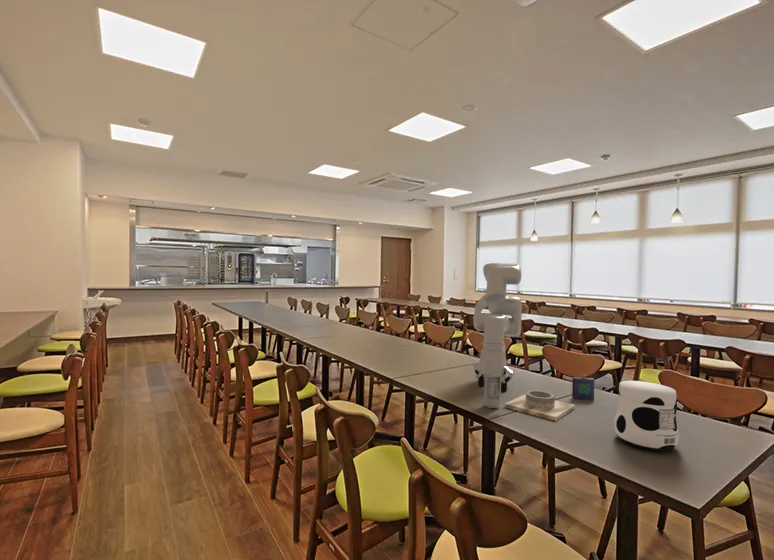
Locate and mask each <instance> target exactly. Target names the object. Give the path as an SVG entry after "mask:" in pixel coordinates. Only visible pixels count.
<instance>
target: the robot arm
mask: <svg viewBox="0 0 774 560" xmlns="http://www.w3.org/2000/svg"><path fill="white" fill-rule="evenodd" d="M482 271H483V276H484V278H485V281H486V293H484V295H482V296H481V297H480V298H479V299H478V301H477V302H476V304H475V307H474V313H473V327H474V330H475V329H476V331H479V332H484V334H483V342H482V341H481V343H480V346H483V348H482V349H481V351H480V355H479V360H478V362H479V363H475V364H473V365H472V367H473V370H474V373H475V375H476V376H477V379H478V380H477V381H478V388H480V389H481V388H483V387H484V388H485V375H487V374H491V376H493V377H497V378H499V377H500V394H504V393H506V392H507V390H508V382H510V381H511V380H512V379H513V376H514V375H515V373H514V372H513V370H511V369H510V368H509V367H507V356H506V343H505V342H504V338H505V337H508V338H509V337H510V338H518V337H519V336H520V335H521V332H522V314H523V313H522V310H523V309H522V308H523V307H522V300H521V299H520V298H519V297H517V296H511V295H510V296H509V295H507V285H514V286H515V285H516V286H517V285H519V284H520V282H521V280H522V268H521V265H520V264H519V263H510V262H509V263H503V262H491V263H490V262H489V263H485V264H484V265H483V268H482ZM487 307H488V312H489V313H486V312H482V311H483V310H484V309H485V308H487ZM508 316H511V317H508ZM507 374H508V375H507Z"/></svg>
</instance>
